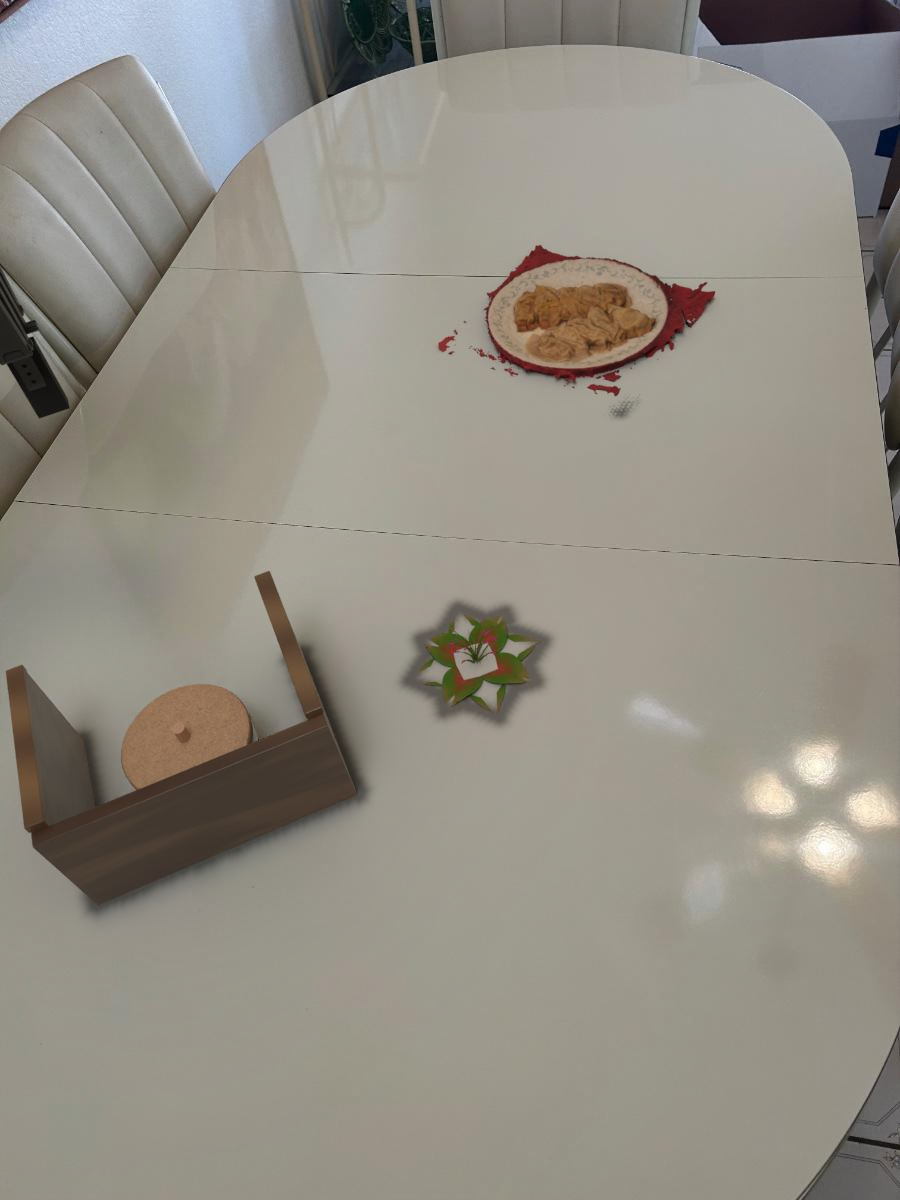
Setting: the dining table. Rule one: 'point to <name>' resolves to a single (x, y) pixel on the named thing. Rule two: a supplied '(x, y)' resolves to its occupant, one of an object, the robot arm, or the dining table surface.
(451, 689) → the lily flower
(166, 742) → the trinket box
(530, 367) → the plate with food
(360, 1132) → the dining table surface
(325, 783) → the shelf cubby
